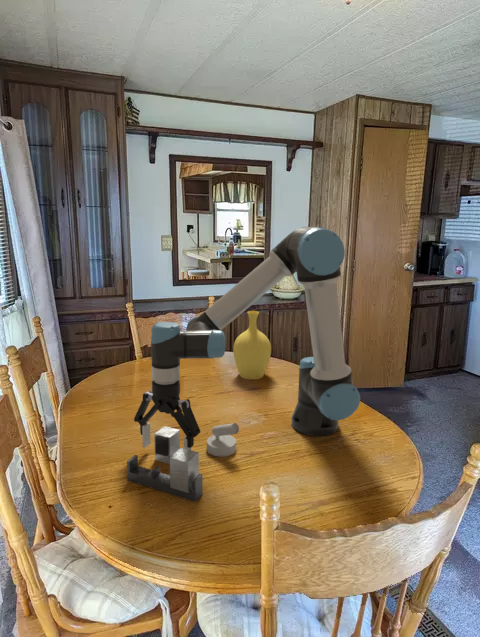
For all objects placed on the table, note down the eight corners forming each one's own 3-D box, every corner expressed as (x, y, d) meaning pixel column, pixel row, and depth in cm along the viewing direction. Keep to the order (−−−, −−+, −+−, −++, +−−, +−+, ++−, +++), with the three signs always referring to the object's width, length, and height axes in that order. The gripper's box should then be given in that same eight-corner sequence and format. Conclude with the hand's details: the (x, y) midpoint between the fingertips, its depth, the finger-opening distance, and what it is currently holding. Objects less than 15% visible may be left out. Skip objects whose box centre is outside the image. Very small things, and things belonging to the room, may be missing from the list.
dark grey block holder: (204, 492, 108) (204, 453, 106) (193, 504, 103) (193, 464, 101) (137, 472, 116) (136, 435, 114) (125, 482, 111) (124, 444, 109)
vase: (228, 370, 194) (229, 308, 188) (262, 367, 199) (264, 307, 193) (239, 383, 179) (240, 316, 173) (275, 380, 184) (278, 315, 178)
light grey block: (165, 451, 126) (164, 426, 125) (179, 455, 124) (179, 429, 123) (153, 461, 121) (152, 434, 120) (168, 465, 119) (168, 438, 118)
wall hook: (226, 430, 120) (200, 419, 126) (226, 461, 122) (200, 449, 128) (246, 419, 126) (220, 409, 132) (245, 449, 128) (220, 438, 134)
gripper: (213, 383, 116) (212, 455, 121) (136, 368, 126) (138, 435, 131) (199, 393, 110) (198, 469, 114) (119, 376, 120) (122, 446, 124)
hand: (166, 451), depth 123 cm, fingers open, 13 cm apart
